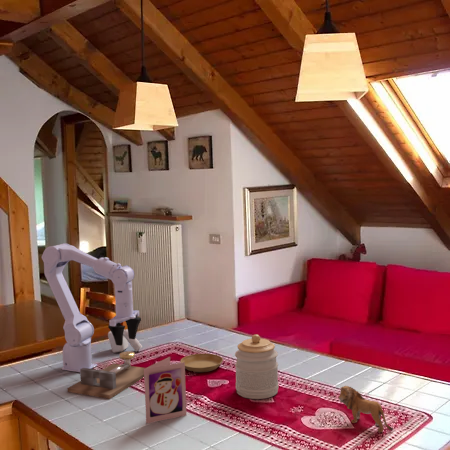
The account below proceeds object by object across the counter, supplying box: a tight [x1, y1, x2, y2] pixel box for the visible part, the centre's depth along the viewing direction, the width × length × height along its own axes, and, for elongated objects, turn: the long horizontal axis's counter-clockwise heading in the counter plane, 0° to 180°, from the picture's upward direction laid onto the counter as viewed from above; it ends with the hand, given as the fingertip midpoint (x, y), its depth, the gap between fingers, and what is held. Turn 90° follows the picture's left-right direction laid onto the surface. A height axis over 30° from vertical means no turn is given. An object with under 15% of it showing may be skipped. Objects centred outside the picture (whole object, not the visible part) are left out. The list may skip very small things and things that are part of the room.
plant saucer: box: [179, 352, 224, 373], centre depth 194 cm, size 15×15×3 cm
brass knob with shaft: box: [110, 350, 136, 374], centre depth 186 cm, size 5×13×5 cm, turn 155°
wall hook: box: [107, 328, 143, 354], centre depth 213 cm, size 8×10×10 cm
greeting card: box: [143, 356, 187, 424], centre depth 154 cm, size 11×7×15 cm, turn 114°
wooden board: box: [66, 363, 146, 400], centre depth 181 cm, size 16×24×6 cm, turn 155°
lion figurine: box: [338, 385, 394, 433], centre depth 146 cm, size 15×5×9 cm, turn 51°
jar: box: [234, 334, 279, 400], centre depth 169 cm, size 13×13×18 cm
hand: (125, 341), depth 190 cm, fingers open, 7 cm apart
